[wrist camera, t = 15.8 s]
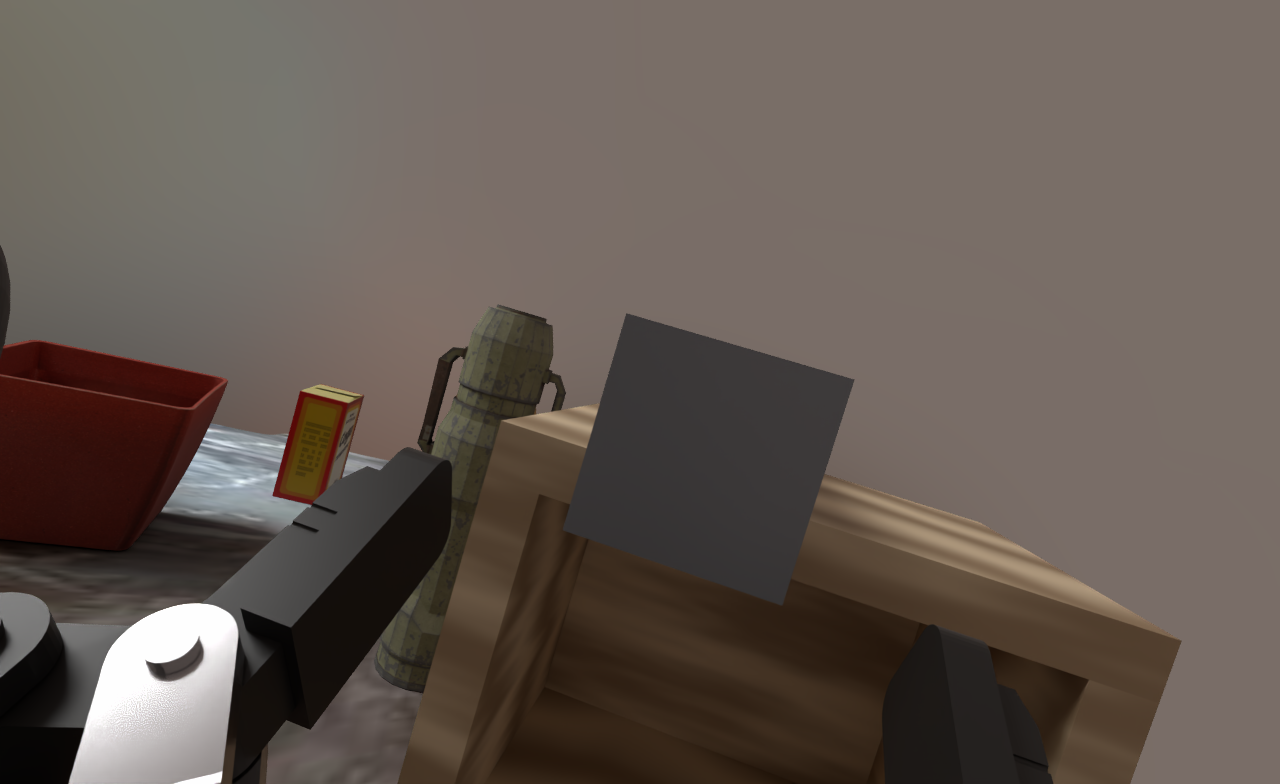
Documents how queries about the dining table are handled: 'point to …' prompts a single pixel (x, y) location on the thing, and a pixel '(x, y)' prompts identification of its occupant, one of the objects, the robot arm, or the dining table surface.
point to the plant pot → (94, 442)
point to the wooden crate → (750, 644)
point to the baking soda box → (317, 442)
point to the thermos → (467, 465)
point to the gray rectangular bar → (707, 457)
